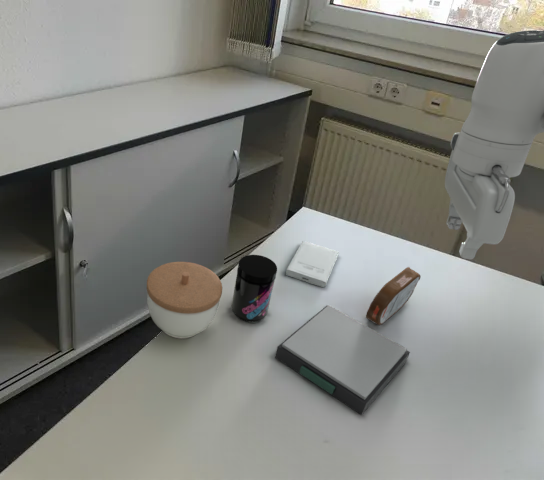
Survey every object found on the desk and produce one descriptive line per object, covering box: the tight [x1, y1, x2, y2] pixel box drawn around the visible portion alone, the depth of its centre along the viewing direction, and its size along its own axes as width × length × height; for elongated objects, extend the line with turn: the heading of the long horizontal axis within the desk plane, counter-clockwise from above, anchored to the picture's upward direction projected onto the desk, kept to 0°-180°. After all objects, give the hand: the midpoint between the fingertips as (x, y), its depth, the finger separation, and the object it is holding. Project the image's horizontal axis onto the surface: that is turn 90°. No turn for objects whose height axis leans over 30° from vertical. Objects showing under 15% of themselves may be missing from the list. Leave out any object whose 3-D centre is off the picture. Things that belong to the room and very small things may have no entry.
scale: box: [274, 304, 411, 415], centre depth 90 cm, size 16×16×3 cm
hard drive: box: [285, 240, 340, 288], centre depth 113 cm, size 2×8×12 cm
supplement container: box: [230, 254, 278, 323], centre depth 96 cm, size 7×7×10 cm
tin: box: [365, 266, 422, 326], centre depth 100 cm, size 15×3×8 cm, turn 134°
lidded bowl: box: [146, 261, 223, 340], centre depth 92 cm, size 13×13×11 cm
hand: (458, 241), depth 82 cm, fingers open, 8 cm apart
